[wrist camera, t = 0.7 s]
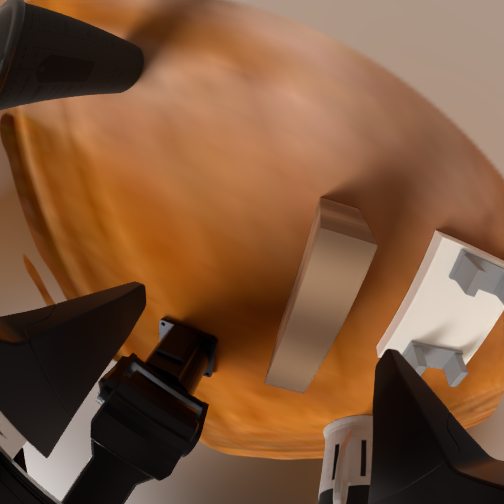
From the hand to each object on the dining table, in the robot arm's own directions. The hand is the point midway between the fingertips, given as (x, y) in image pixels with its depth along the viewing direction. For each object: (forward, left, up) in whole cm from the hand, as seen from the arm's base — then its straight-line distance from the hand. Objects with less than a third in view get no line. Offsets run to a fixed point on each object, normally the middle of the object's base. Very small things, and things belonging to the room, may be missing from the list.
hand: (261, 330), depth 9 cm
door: (-4, -3, -12) cm, 13 cm away
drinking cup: (+10, +17, -12) cm, 24 cm away
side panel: (-3, -16, -12) cm, 21 cm away
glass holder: (-23, -15, -13) cm, 30 cm away
